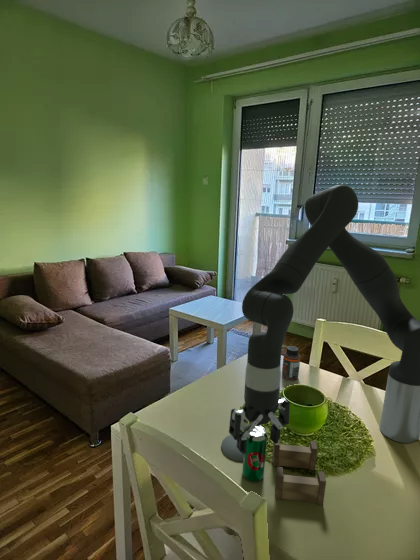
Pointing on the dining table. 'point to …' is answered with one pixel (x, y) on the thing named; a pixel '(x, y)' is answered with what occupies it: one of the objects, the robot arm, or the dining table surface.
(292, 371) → the supplement bottle
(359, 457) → the dining table surface
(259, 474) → the soda can
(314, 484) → the channel
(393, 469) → the dining table surface
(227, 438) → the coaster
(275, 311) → the robot arm
